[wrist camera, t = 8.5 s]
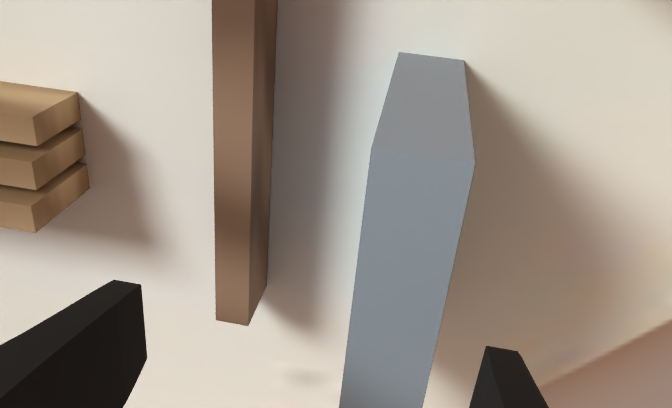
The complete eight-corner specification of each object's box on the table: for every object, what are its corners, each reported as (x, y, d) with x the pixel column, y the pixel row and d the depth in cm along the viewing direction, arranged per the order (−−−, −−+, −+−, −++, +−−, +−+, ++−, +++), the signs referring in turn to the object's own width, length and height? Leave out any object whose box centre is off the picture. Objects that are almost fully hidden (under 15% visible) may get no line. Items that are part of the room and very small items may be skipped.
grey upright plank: (463, 59, 18) (475, 163, 11) (415, 315, 23) (402, 499, 16) (398, 51, 18) (371, 149, 11) (364, 306, 23) (329, 485, 16)
